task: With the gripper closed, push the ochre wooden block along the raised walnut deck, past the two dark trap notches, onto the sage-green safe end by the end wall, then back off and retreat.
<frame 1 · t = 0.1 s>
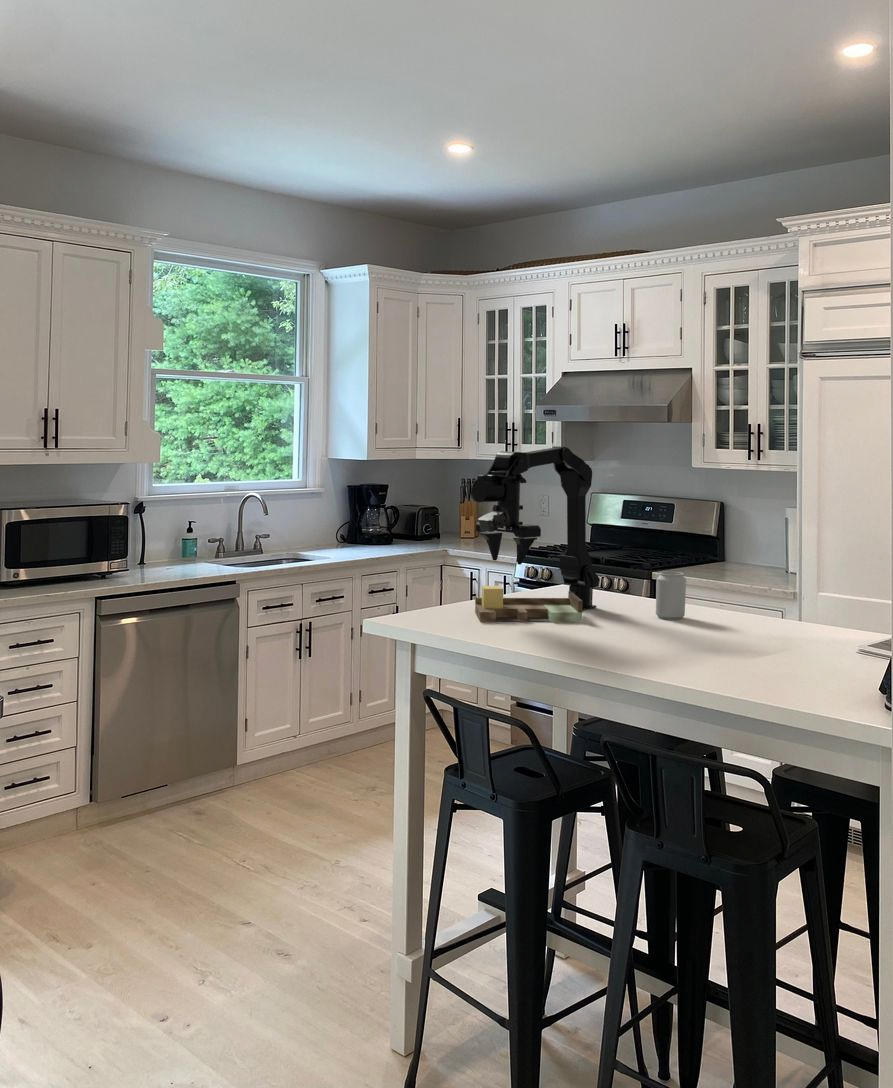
hand: (506, 562, 250), 15 cm above the counter, fingers open, 9 cm apart
deck: (530, 616, 255), on the counter
block: (492, 606, 255), point 2 cm above the counter, touching deck
can: (669, 618, 257), on the counter
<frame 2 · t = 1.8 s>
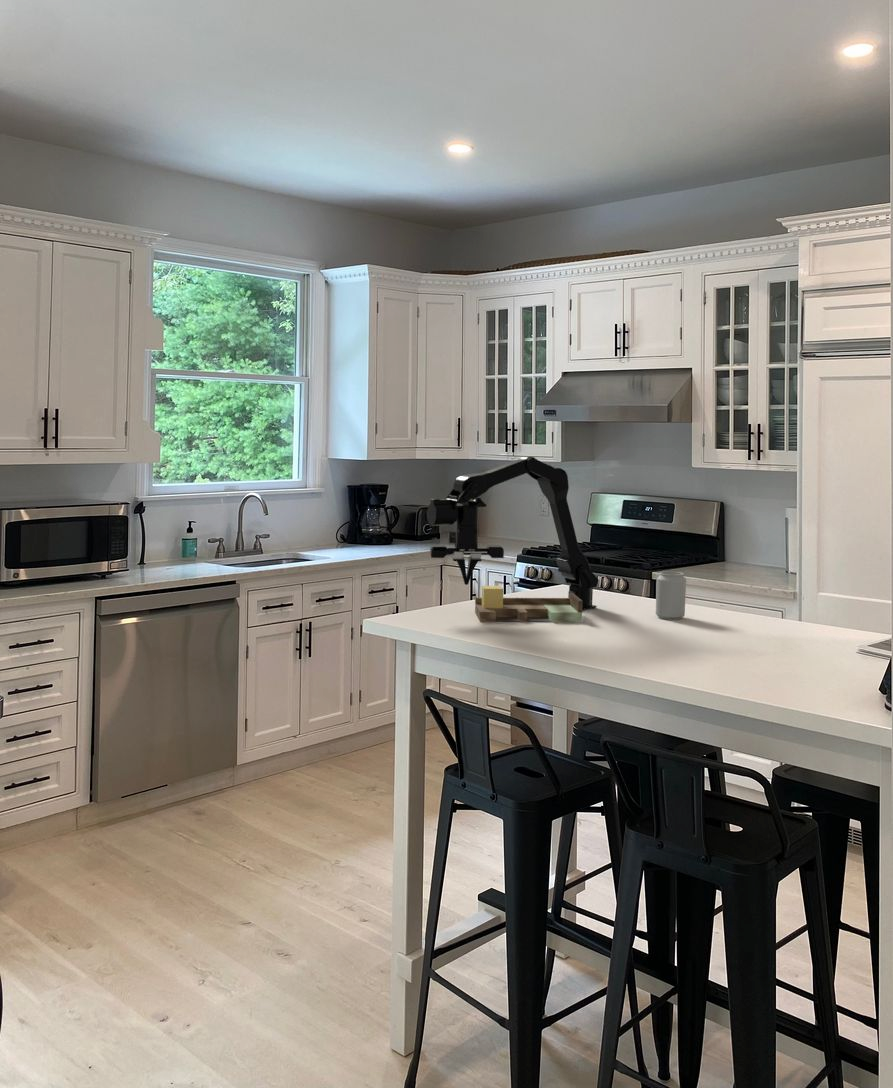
hand: (466, 584, 254), 8 cm above the counter, fingers closed
nothing on the counter moved.
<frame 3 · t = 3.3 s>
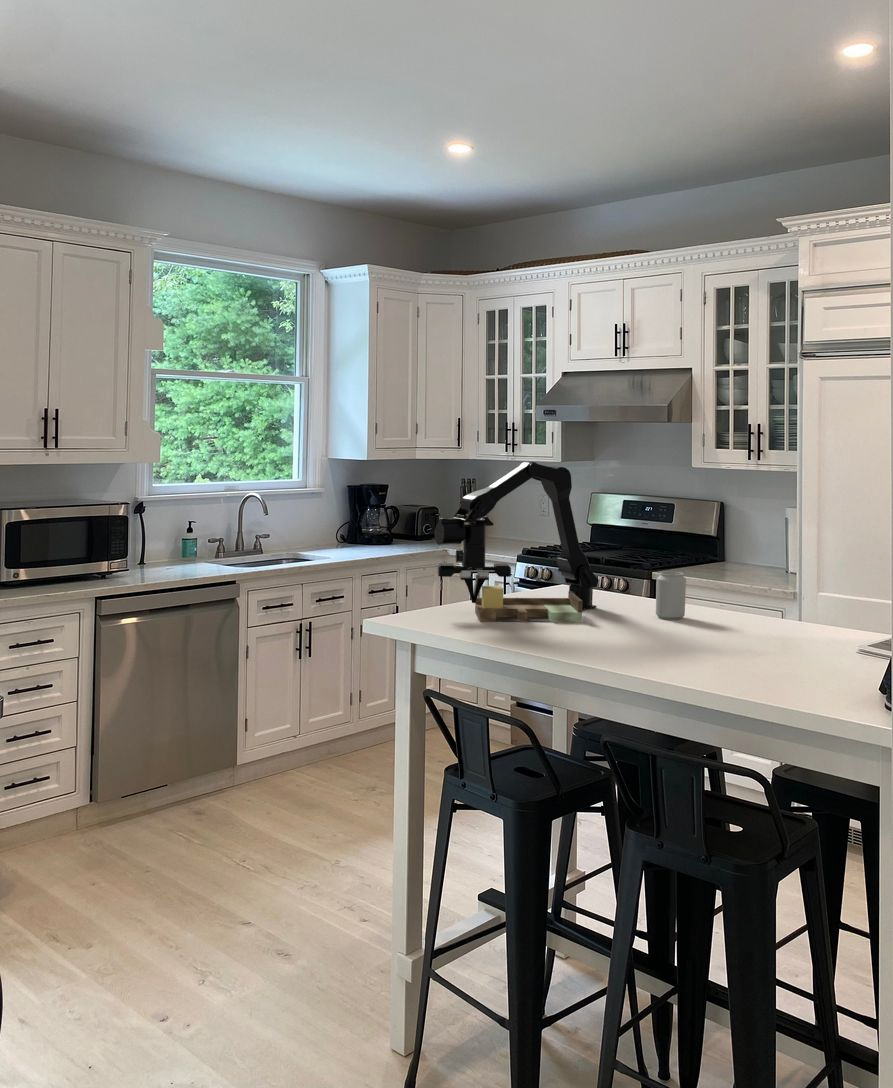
hand: (473, 602, 255), 3 cm above the counter, fingers closed
block: (492, 606, 255), point 3 cm above the counter, touching deck, gripper
everything else where it was.
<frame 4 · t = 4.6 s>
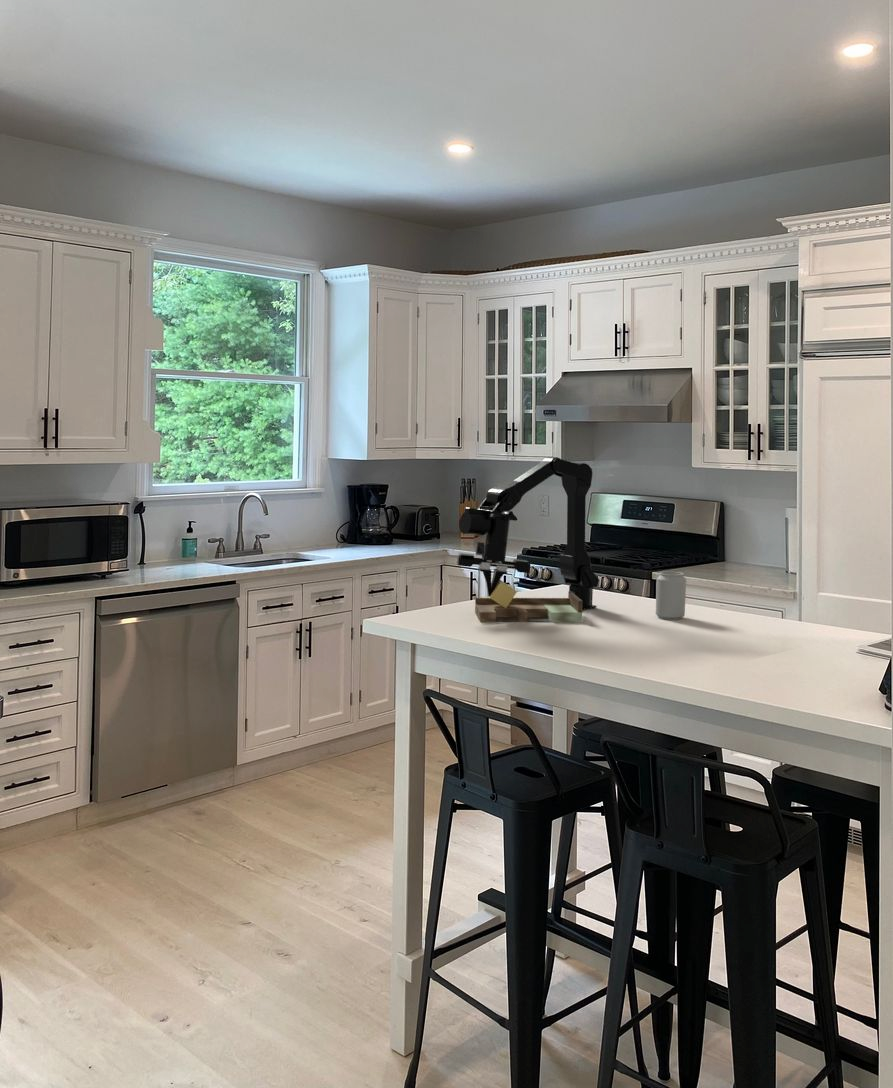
hand: (489, 595, 255), 5 cm above the counter, fingers closed, pressing on block
block: (497, 601, 255), point 4 cm above the counter, tilted 32°, touching deck, gripper
everything else where it was.
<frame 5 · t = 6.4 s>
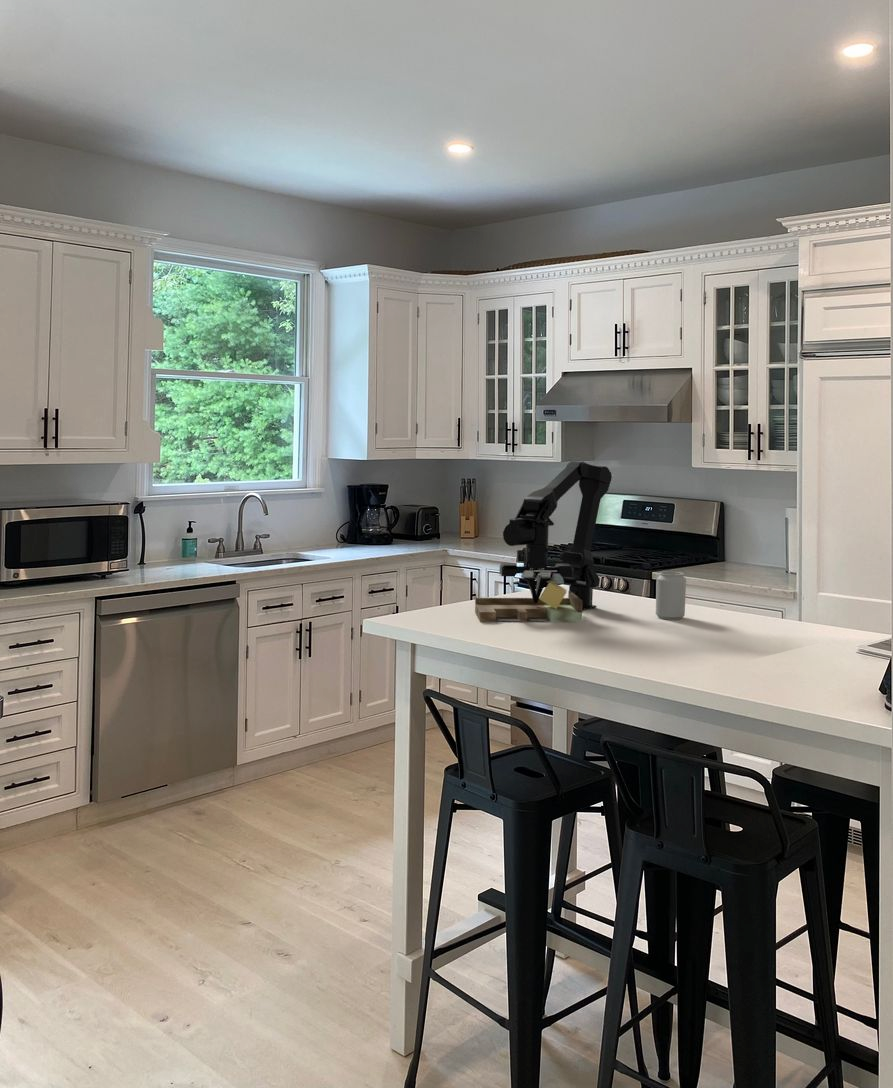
hand: (535, 602, 256), 3 cm above the counter, fingers closed
block: (548, 602, 255), point 4 cm above the counter, tilted 29°, touching gripper
everything else where it was.
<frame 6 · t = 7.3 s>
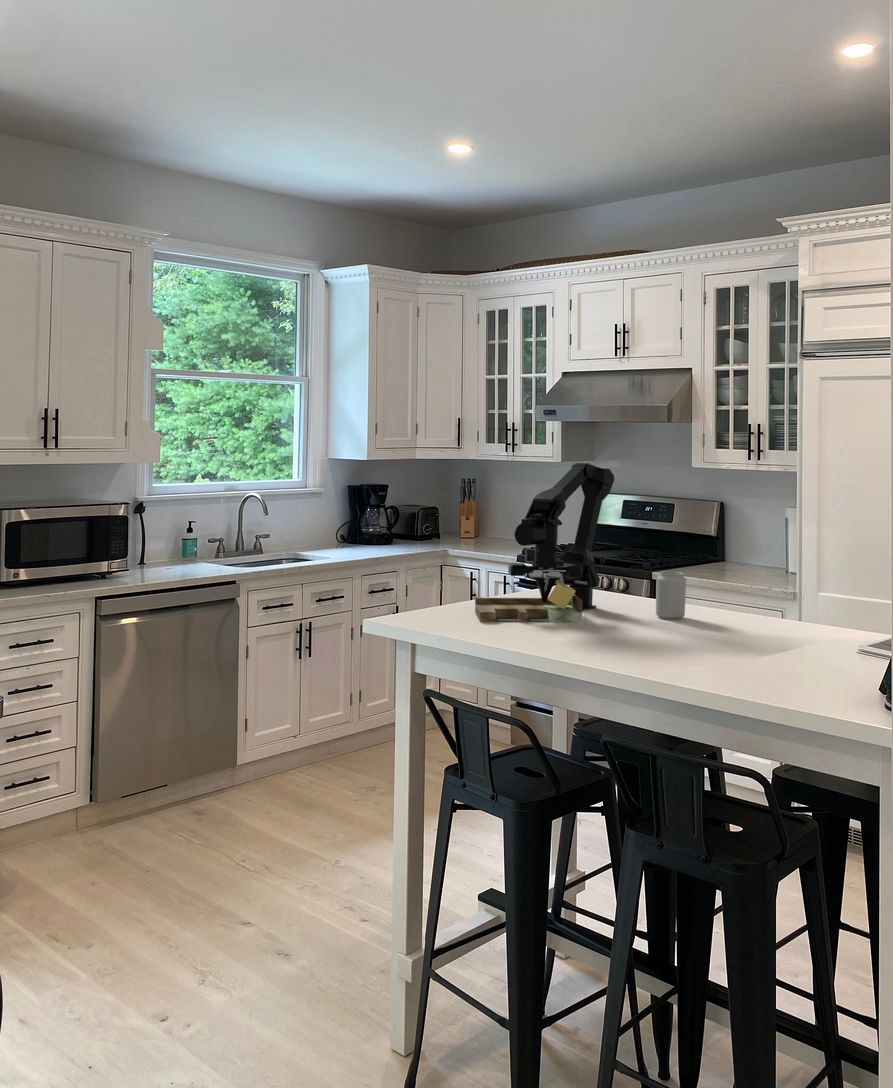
hand: (544, 602, 256), 4 cm above the counter, fingers closed
block: (556, 603, 254), point 4 cm above the counter, tilted 30°, touching deck, gripper
everything else where it was.
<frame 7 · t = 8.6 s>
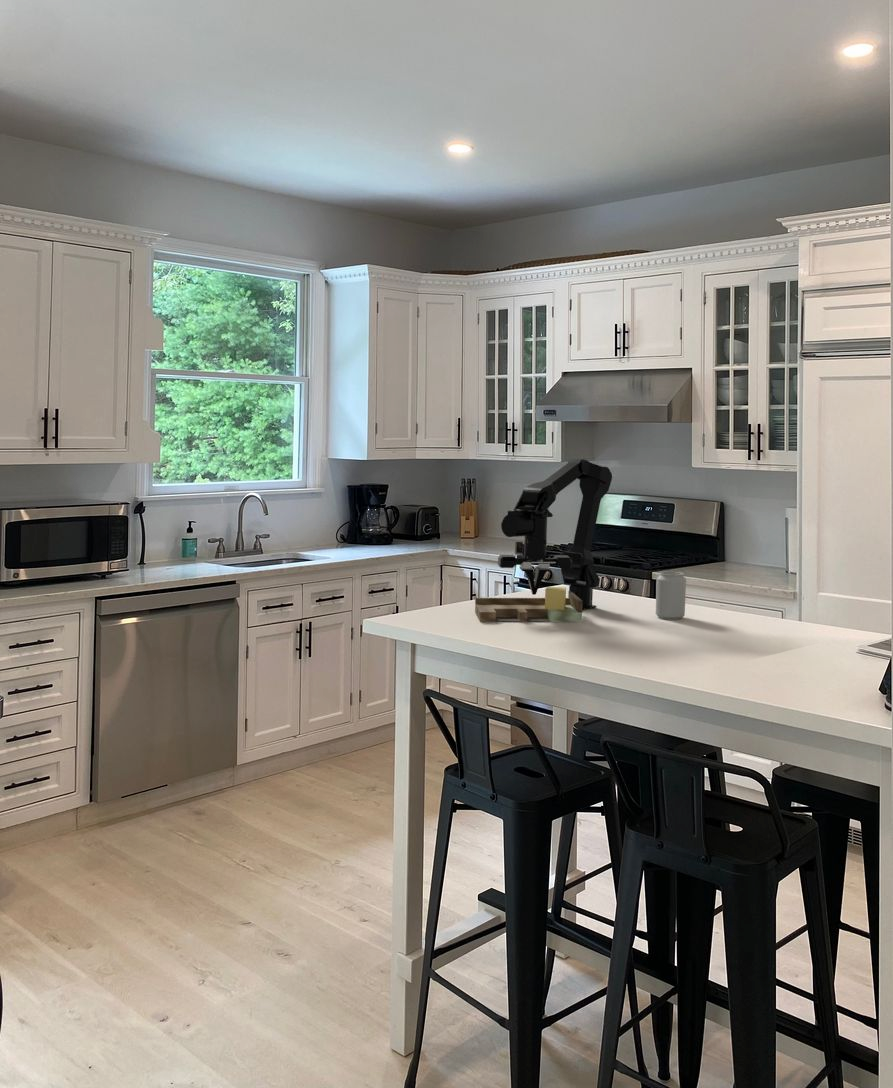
hand: (533, 594, 255), 6 cm above the counter, fingers closed
block: (555, 607, 255), point 2 cm above the counter, touching deck
everything else where it was.
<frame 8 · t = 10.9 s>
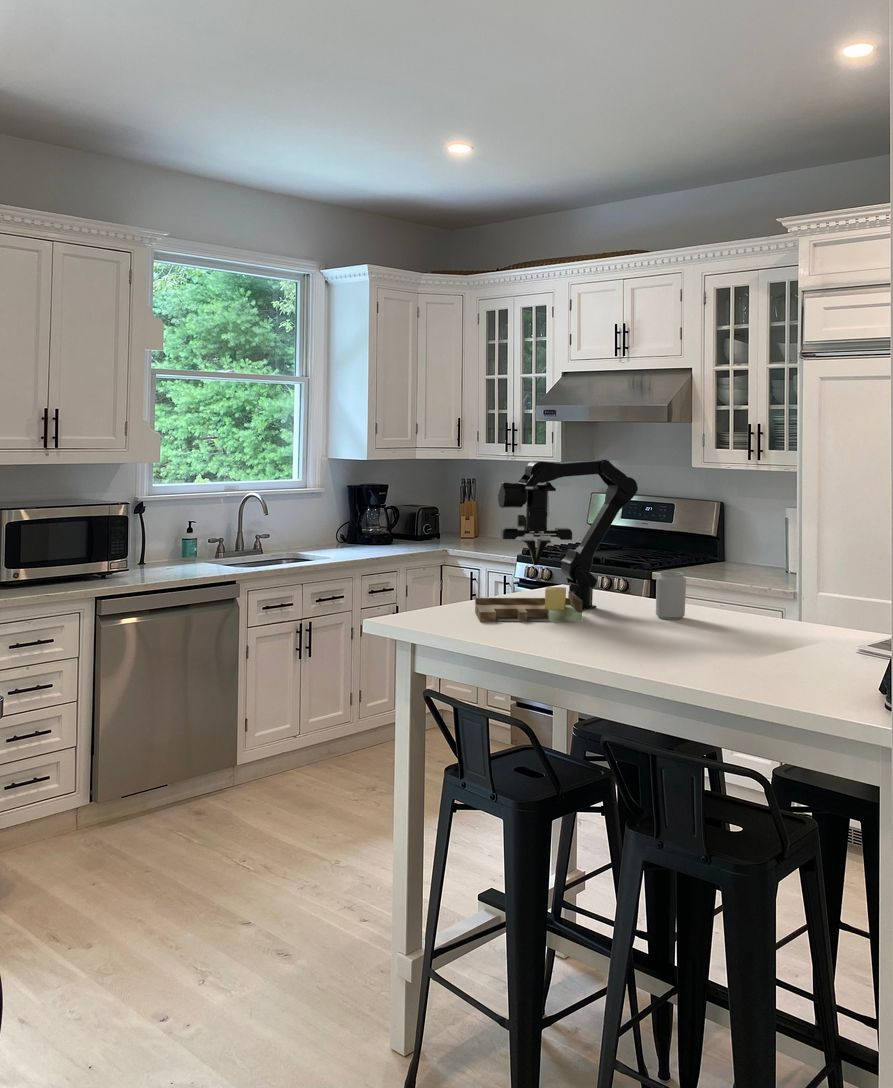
hand: (535, 565, 265), 12 cm above the counter, fingers closed
nothing on the counter moved.
at the end: block 2.2 cm from the target spot on the deck, point 2.5 cm above the deck's base; block tilted 0°; block moved 16.4 cm from its start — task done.
